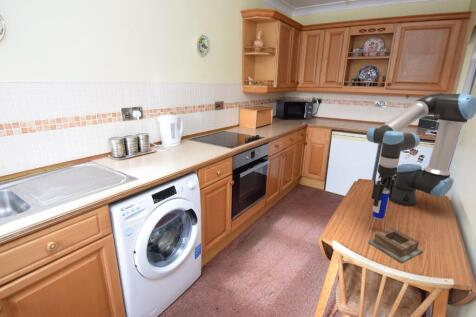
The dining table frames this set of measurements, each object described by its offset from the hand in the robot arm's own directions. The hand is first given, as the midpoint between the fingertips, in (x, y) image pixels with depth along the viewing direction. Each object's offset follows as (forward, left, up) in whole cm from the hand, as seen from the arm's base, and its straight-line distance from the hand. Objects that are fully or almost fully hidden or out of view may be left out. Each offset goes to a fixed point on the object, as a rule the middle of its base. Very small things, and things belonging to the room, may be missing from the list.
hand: (379, 210), depth 121 cm
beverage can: (0, 0, -4) cm, 4 cm away
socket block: (+6, +13, -11) cm, 18 cm away
